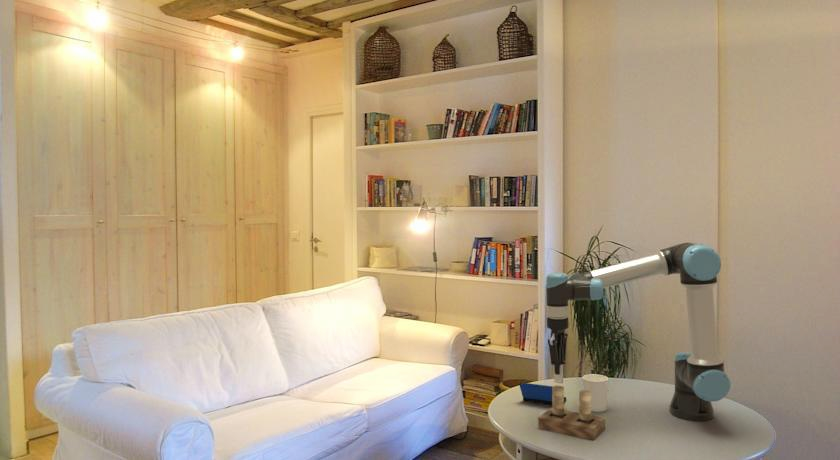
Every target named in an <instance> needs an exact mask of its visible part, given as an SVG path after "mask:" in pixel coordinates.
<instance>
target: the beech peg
mask: <svg viewBox="0 0 840 460" xmlns="http://www.w3.org/2000/svg"><path fill="white" fill-rule="evenodd" d="M564 397H565V387H564V386H561V385H553V387H552V405H551V406H552V407H551V408H552V415H553V417H557V418H564V410H565V402H564Z"/></svg>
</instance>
